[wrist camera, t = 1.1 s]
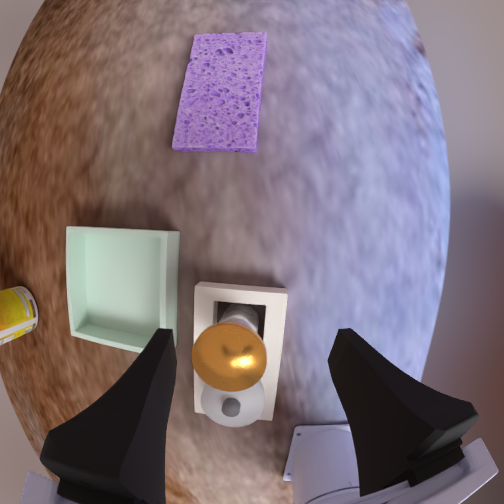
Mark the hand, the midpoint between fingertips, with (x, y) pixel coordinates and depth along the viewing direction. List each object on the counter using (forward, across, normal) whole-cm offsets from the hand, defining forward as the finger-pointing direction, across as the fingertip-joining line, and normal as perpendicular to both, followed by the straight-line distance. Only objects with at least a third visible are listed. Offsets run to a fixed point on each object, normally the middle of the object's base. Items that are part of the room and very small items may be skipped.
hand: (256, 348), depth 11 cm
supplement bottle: (+13, +25, +10) cm, 30 cm away
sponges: (+18, +2, -12) cm, 22 cm away
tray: (+12, +10, +5) cm, 17 cm away
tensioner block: (+9, 0, +9) cm, 13 cm away
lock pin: (+10, 0, +6) cm, 12 cm away
